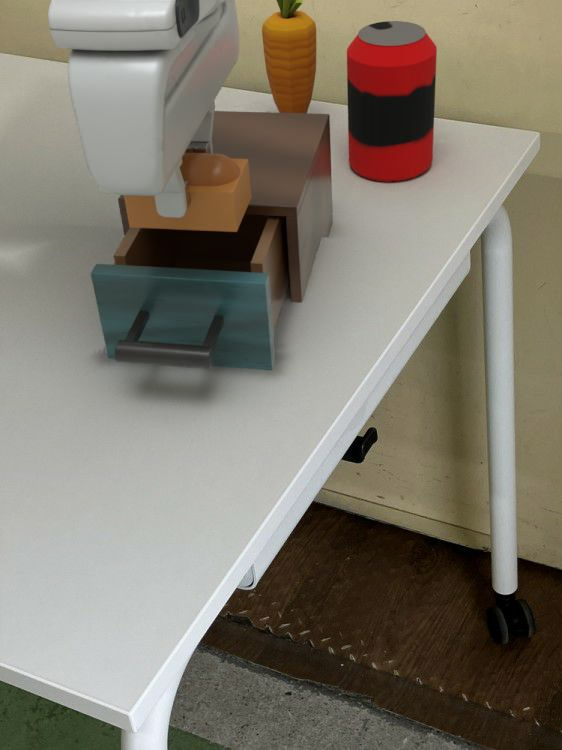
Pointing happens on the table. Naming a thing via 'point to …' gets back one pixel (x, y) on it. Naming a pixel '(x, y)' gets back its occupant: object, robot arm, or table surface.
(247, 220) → the drawer
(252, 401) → the table surface
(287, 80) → the carrot
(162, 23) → the robot arm
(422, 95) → the soda can
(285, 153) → the cabinet
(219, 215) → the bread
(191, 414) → the table surface
